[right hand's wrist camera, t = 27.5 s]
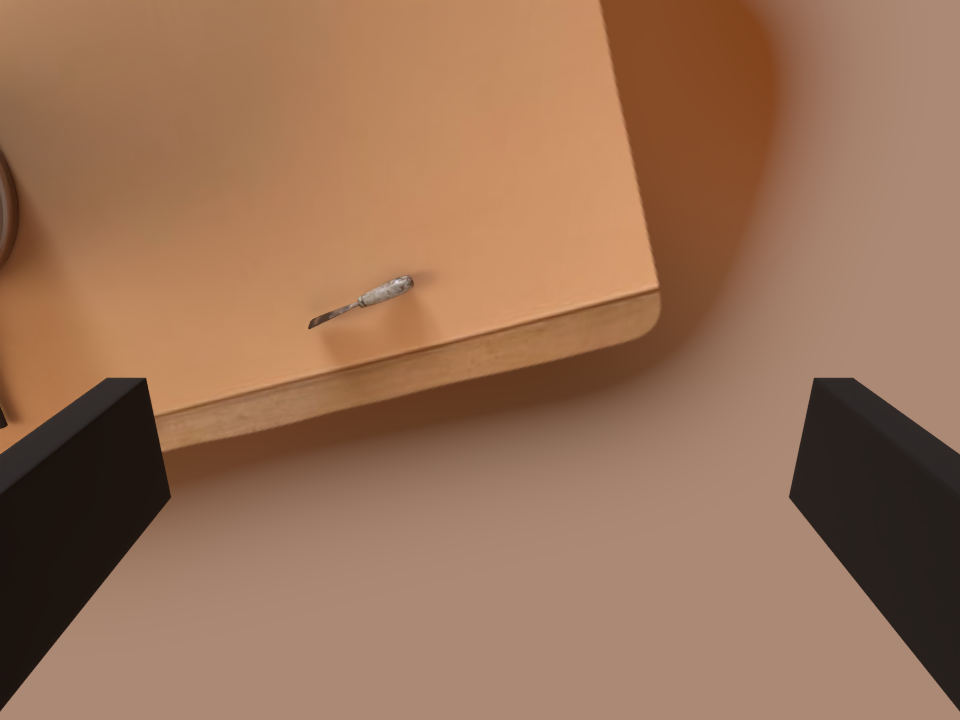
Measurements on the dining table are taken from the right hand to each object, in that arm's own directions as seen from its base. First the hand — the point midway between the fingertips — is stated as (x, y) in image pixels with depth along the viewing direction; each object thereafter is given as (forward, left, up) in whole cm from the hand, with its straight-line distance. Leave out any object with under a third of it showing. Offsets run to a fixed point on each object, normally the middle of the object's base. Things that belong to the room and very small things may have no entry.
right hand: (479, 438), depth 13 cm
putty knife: (-6, +8, -32) cm, 34 cm away
